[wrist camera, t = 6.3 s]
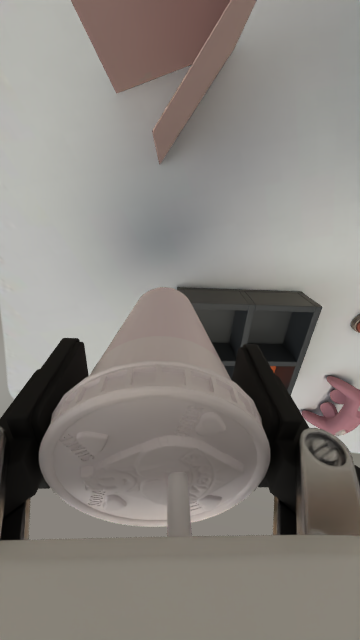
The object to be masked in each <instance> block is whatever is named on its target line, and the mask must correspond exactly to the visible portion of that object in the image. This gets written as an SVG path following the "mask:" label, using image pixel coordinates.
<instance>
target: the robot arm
mask: <svg viewBox="0 0 360 640" xmlns="http://www.w3.org/2000/svg"><path fill="white" fill-rule="evenodd" d="M86 377H88V369H87V362H86V355H85V348H84V343H83V342H80V341H79V339H78V338H63V339H62V340H61V341H60V343H59V344H58V346H57V347H56V348H55V350H54V351H53V352H52V354H51V355H50V357H49V358H48V359H47V361H46V362H45V363H44V365H43V366H42V368H41V369H39V370H37V371H36V372H35V373H34V374H33V375H32V377H31V378H30V379H29V381H28V382H27V383H26V385H25V386H24V388H23V389H22V390H21V392H20V393H19V394H18V396H17V397H16V398H15V400H14V401H13V403H12V404H11V405H10V406H9V408H8V409H7V410H6V412H5V413H4V415H3V416H2V417H1V418H0V640H360V468H359V467H357V466H356V465H354V463H353V459H352V456H351V453H350V451H349V450H348V448H347V447H346V445H345V444H344V443H343V442H342V441H341V440H340V439H338V438H337V437H336V436H334V435H333V434H331V433H329V432H327V431H325V430H322V429H318V428H309V426H308V425H307V423H306V421H305V420H304V418H303V416H302V415H301V413H300V411H299V409H298V408H297V406H296V404H295V403H294V401H293V399H292V398H291V396H290V394H289V393H288V391H287V389H286V388H285V386H284V384H283V382H282V381H281V379H280V378H279V377H278V376H277V375H275V374H274V372H273V370H272V369H271V367H270V365H269V363H268V362H267V360H266V358H265V356H264V355H263V353H262V351H261V349H260V348H259V346H258V345H255V344H244V345H243V347H239V349H238V353H237V357H236V362H235V367H234V371H233V376H232V380H231V381H233V382H235V383H236V384H237V385H238V386H239V387H240V388H241V389H242V390H243V391H244V392H245V393H246V394H247V395H248V396H249V397H250V398H251V399H252V400H253V401H254V403H255V406H256V408H257V410H258V412H259V414H260V417H261V419H262V426H263V429H264V431H265V434H266V436H267V439H268V442H269V446H270V464H269V467H268V470H267V472H266V475H265V477H264V478H263V480H262V481H261V483H260V484H259V486H258V487H269V490H270V493H272V494H273V495H274V517H273V518H274V519H273V535H256V536H255V535H246V536H181V537H133V538H132V537H130V538H129V537H128V538H83V539H41V540H29V522H30V520H29V519H30V498H31V497H32V496H33V495H35V494H36V492H37V490H38V488H50V486H49V485H48V484H47V482H46V481H45V479H44V477H43V474H42V472H41V469H40V465H39V449H40V445H41V442H42V439H43V437H44V435H45V433H46V431H47V429H48V427H49V425H50V423H51V418H52V413H53V412H54V410H55V408H56V407H57V405H58V404H59V402H60V401H61V399H62V397H63V396H64V394H65V393H67V392H68V391H69V390H70V389H72V388H73V387H74V386H76V385H77V384H78V383H79V382H81V381H82V380H83V379H84V378H86Z"/></svg>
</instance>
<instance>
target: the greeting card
mask: <svg viewBox="0 0 360 640" xmlns="http://www.w3.org/2000/svg"><path fill="white" fill-rule="evenodd" d="M256 1H257V0H71V2H72V4H73V6H74V8H75V10H76V12H77V14H78V16H79V18H80V20H81V22H82V24H83V26H84V28H85V30H86V32H87V34H88V36H89V38H90V40H91V42H92V44H93V46H94V48H95V51H96V53H97V55H98V57H99V59H100V61H101V63H102V65H103V67H104V69H105V71H106V73H107V75H108V77H109V79H110V81H111V83H112V85H113V87H114V89H115V91H116V93H119V92H122V91H125V90H127V89H130V88H132V87H135V86H138V85H140V84H143V83H145V82H148V81H151V80H153V79H156V78H158V77H161V76H163V75H166V74H169V73H171V72H174V71H176V70H179V69H182V68H184V67H187V66H189V65H192V66H191V67H190V69H189V71H188V72H187V74H186V76H185V77H184V79H183V81H182V82H181V84H180V86H179V87H178V89H177V91H176V92H175V94H174V96H173V97H172V99H171V101H170V102H169V104H168V106H167V107H166V109H165V111H164V112H163V114H162V116H161V117H160V119H159V121H158V122H157V124H156V126H155V127H154V129H153V131H152V133H153V138H154V142H155V147H156V151H157V156H158V160H159V164H160V163H161V162H162V160H163V159H164V157H165V156H166V154H167V153H168V151H169V149H170V148H171V146H172V145H173V143H174V142H175V140H176V138H177V137H178V135H179V134H180V132H181V131H182V129H183V128H184V126H185V124H186V123H187V121H188V120H189V118H190V117H191V115H192V114H193V112H194V110H195V109H196V107H197V106H198V104H199V103H200V101H201V99H202V98H203V96H204V95H205V93H206V92H207V90H208V89H209V87H210V85H211V84H212V82H213V81H214V79H215V78H216V76H217V75H218V73H219V71H220V70H221V68H222V67H223V65H224V64H225V62H226V60H227V59H228V57H229V56H230V54H231V53H232V51H233V50H234V48H235V46H236V44H237V41H238V39H239V37H240V35H241V33H242V31H243V29H244V26H245V24H246V22H247V20H248V18H249V16H250V13H251V11H252V9H253V7H254V5H255V3H256Z"/></svg>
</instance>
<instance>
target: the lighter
mask: <svg viewBox="0 0 360 640" xmlns="http://www.w3.org/2000/svg"><path fill="white" fill-rule="evenodd" d="M351 327H352V328H353V329H354V330H355V331H356V332H358V333H360V314H359V315H358V316H356V317H355V318H354V319H353V320H352V322H351Z"/></svg>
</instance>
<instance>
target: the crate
mask: <svg viewBox="0 0 360 640" xmlns="http://www.w3.org/2000/svg"><path fill="white" fill-rule="evenodd" d="M177 290H178V291H180V292H181V293H183V294H184V295H185V296H186V297H187V298H188V299H189V301H190V302H191V304H192V306H193V308H194V310H195V312H196V314H197V316H198V318H199V320H200V322H201V323H202V325H203V327H204V329H205V331H206V333H207V335H208V337H209V339H210V341H211V343H212V345H213V346H214V348H215V350H216V352H217V354H218V356H219V358H220V360H221V362H222V364H223V365H224V367H225V369H226V371H227V373H228V375H229V377H230V379H231V380H232V376H233V371H234V367H235V362H236V357H237V353H238V349H239V347H243V345H244V344H255V345H258V346H259V348H260V349H261V351H262V353H263V355H264V356H265V358H266V360H267V362H268V363H269V365H270V367H271V369H272V370H273V372H274V374H275V375H277V376H278V377H279V378H280V379H281V381H282V382H283V384H284V386H285V388H286V389H287V391H288V393H289V394H290V396H291V393H292V390H293V387H294V385H295V382H296V379H297V376H298V373H299V371H300V368H301V365H302V362H303V360H304V357H305V354H306V351H307V348H308V346H309V343H310V340H311V337H312V334H313V332H314V329H315V326H316V323H317V321H318V318H319V315H320V312H321V309H322V306H320V305H319V304H318V303H316V302H315V301H313V300H312V299H311V298H309V297H308V296H306V295H305V294H304V293H302V292H294V291H265V290H236V289H207V288H177Z"/></svg>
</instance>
